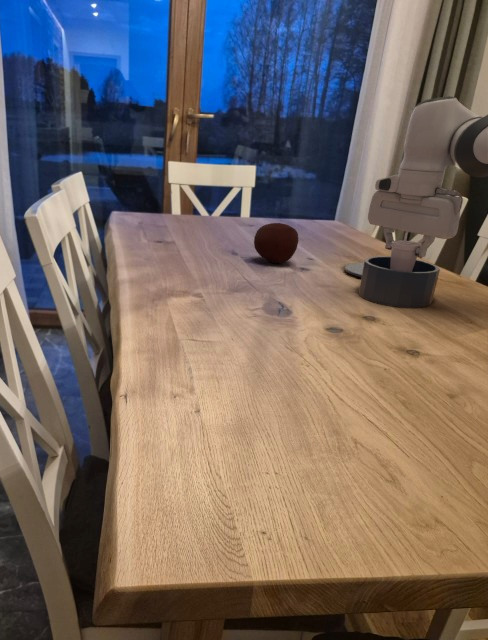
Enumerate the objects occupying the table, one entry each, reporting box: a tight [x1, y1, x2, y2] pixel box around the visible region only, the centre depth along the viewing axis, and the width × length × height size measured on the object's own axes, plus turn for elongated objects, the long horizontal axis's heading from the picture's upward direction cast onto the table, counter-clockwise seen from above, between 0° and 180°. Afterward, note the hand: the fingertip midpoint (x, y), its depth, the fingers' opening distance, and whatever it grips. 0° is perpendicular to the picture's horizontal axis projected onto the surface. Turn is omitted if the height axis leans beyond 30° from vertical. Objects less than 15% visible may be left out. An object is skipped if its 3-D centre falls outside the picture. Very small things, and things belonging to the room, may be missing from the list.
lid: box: [344, 255, 377, 278], centre depth 147 cm, size 17×17×5 cm
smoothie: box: [390, 231, 423, 272], centre depth 125 cm, size 6×6×14 cm
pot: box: [358, 255, 441, 309], centre depth 127 cm, size 16×16×8 cm
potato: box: [253, 222, 300, 264], centre depth 153 cm, size 11×13×10 cm
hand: (404, 252), depth 124 cm, fingers closed on smoothie, 6 cm apart
